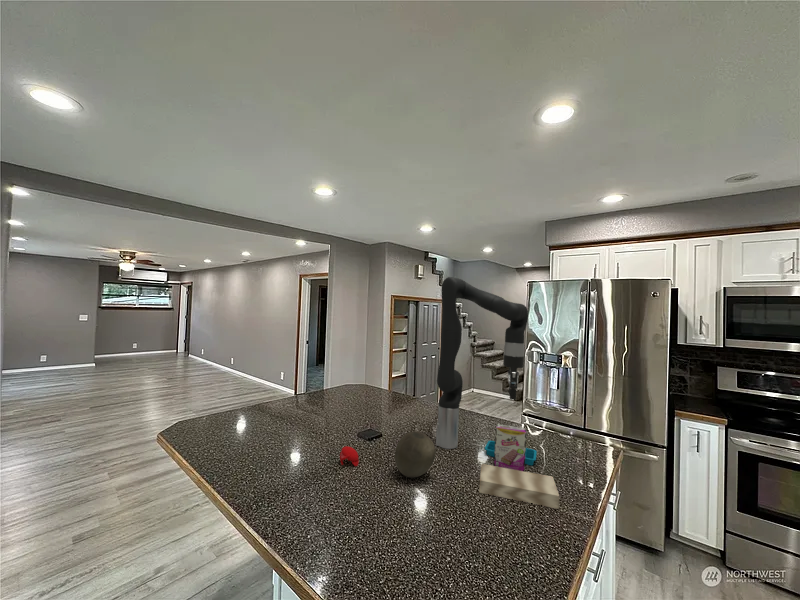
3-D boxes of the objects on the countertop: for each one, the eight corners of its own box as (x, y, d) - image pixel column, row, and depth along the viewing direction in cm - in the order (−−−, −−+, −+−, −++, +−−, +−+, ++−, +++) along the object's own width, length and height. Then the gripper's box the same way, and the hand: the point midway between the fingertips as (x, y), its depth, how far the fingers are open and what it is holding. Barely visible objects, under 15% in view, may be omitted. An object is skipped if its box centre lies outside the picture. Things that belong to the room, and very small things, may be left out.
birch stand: (479, 492, 107) (479, 480, 108) (481, 474, 120) (481, 463, 120) (558, 509, 100) (559, 495, 101) (552, 488, 113) (552, 476, 113)
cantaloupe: (405, 489, 107) (408, 442, 108) (387, 469, 120) (389, 428, 120) (441, 481, 113) (443, 437, 114) (420, 463, 126) (422, 424, 127)
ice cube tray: (535, 468, 129) (535, 460, 129) (483, 456, 137) (484, 449, 137) (536, 457, 139) (536, 450, 139) (488, 446, 148) (488, 440, 148)
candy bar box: (493, 470, 124) (495, 427, 124) (494, 465, 128) (496, 423, 129) (525, 477, 120) (526, 432, 121) (524, 471, 125) (526, 427, 125)
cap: (334, 456, 121) (344, 451, 119) (342, 445, 127) (352, 440, 124) (346, 473, 122) (357, 469, 119) (353, 461, 127) (364, 457, 124)
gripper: (503, 351, 134) (501, 391, 133) (504, 355, 120) (502, 399, 120) (522, 353, 132) (521, 393, 131) (525, 357, 118) (523, 402, 117)
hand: (512, 396), depth 125 cm, fingers open, 8 cm apart
